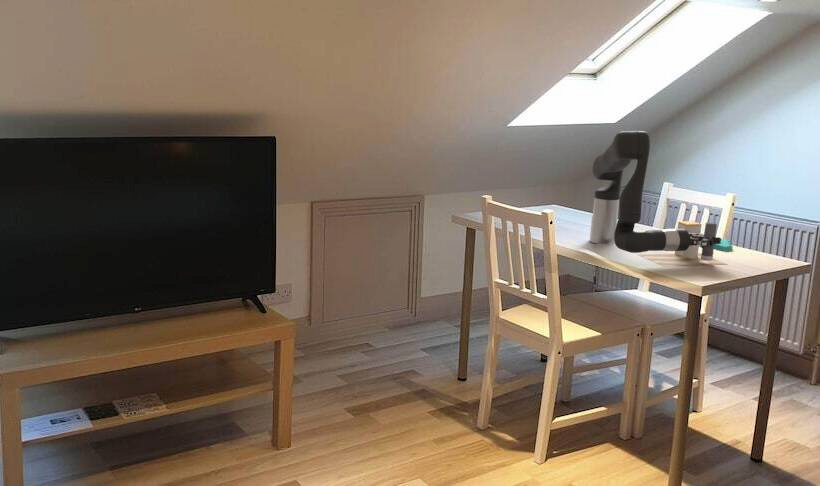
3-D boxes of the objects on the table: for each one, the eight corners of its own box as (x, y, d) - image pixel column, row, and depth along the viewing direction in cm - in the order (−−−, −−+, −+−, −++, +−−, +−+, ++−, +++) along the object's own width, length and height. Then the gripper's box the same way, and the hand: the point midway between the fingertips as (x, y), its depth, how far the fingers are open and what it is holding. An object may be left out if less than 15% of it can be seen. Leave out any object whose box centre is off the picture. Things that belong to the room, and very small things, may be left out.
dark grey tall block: (698, 258, 281) (703, 222, 279) (708, 257, 282) (712, 222, 280) (705, 260, 278) (709, 224, 275) (714, 260, 279) (719, 224, 276)
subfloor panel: (636, 258, 290) (637, 254, 289) (698, 256, 296) (698, 252, 296) (663, 270, 274) (664, 266, 273) (727, 268, 280) (728, 264, 280)
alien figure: (707, 254, 303) (743, 250, 313) (708, 248, 302) (744, 244, 312) (666, 242, 320) (702, 239, 330) (667, 237, 319) (703, 233, 329)
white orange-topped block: (674, 253, 293) (678, 221, 290) (689, 253, 294) (693, 221, 292) (682, 257, 288) (686, 224, 285) (697, 256, 290) (701, 224, 287)
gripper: (685, 233, 267) (731, 233, 272) (661, 224, 280) (705, 224, 285) (683, 255, 269) (728, 254, 274) (659, 246, 282) (702, 245, 287)
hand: (716, 239), depth 279 cm, fingers closed on dark grey tall block, 3 cm apart
